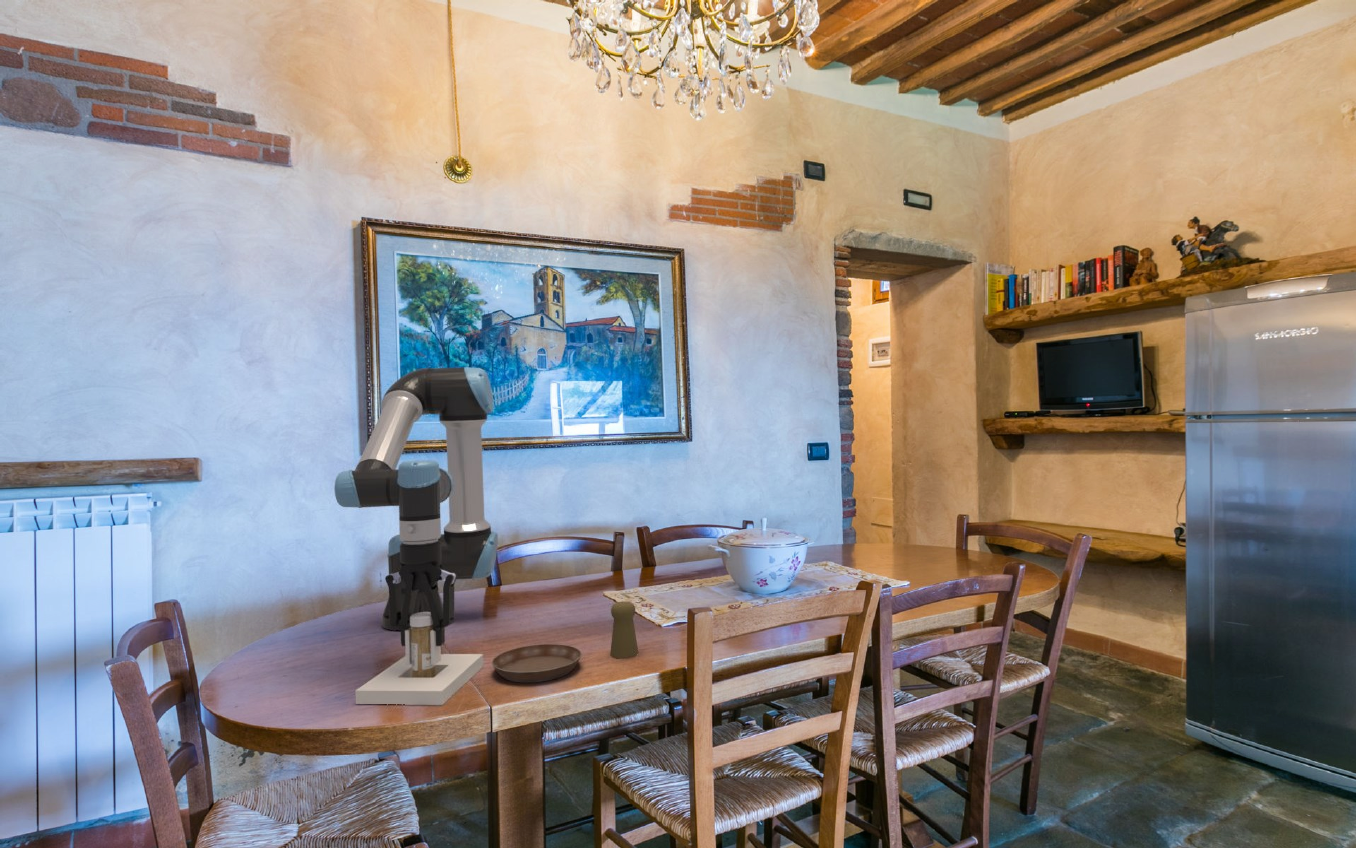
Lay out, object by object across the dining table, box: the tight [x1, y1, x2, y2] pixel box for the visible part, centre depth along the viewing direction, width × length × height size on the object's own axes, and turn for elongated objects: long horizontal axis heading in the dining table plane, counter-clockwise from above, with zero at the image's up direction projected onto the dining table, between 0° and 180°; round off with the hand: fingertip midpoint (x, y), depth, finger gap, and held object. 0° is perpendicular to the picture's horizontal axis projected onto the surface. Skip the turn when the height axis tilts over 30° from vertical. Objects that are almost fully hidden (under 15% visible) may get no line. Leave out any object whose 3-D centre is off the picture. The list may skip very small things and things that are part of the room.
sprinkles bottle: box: [410, 612, 436, 678], centre depth 134 cm, size 5×5×14 cm
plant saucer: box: [491, 643, 583, 684], centre depth 140 cm, size 18×18×3 cm
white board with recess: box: [355, 653, 484, 706], centre depth 134 cm, size 20×16×2 cm
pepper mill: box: [609, 600, 639, 660], centre depth 149 cm, size 6×6×11 cm
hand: (423, 662), depth 134 cm, fingers closed on sprinkles bottle, 4 cm apart
